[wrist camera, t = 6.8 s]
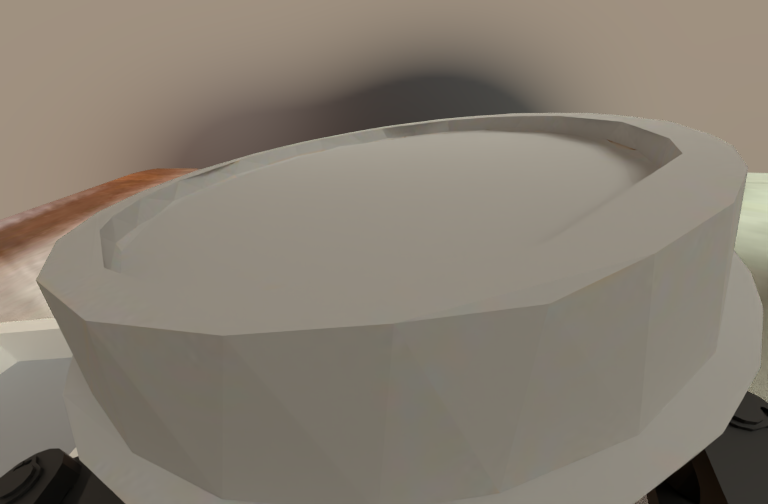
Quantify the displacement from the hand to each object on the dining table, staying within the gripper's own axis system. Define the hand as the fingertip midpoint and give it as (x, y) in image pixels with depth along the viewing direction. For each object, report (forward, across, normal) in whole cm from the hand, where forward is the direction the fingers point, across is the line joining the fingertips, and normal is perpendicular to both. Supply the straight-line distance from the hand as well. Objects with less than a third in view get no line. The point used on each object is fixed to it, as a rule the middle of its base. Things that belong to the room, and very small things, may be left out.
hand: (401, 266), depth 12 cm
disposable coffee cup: (-5, 0, -7) cm, 8 cm away
